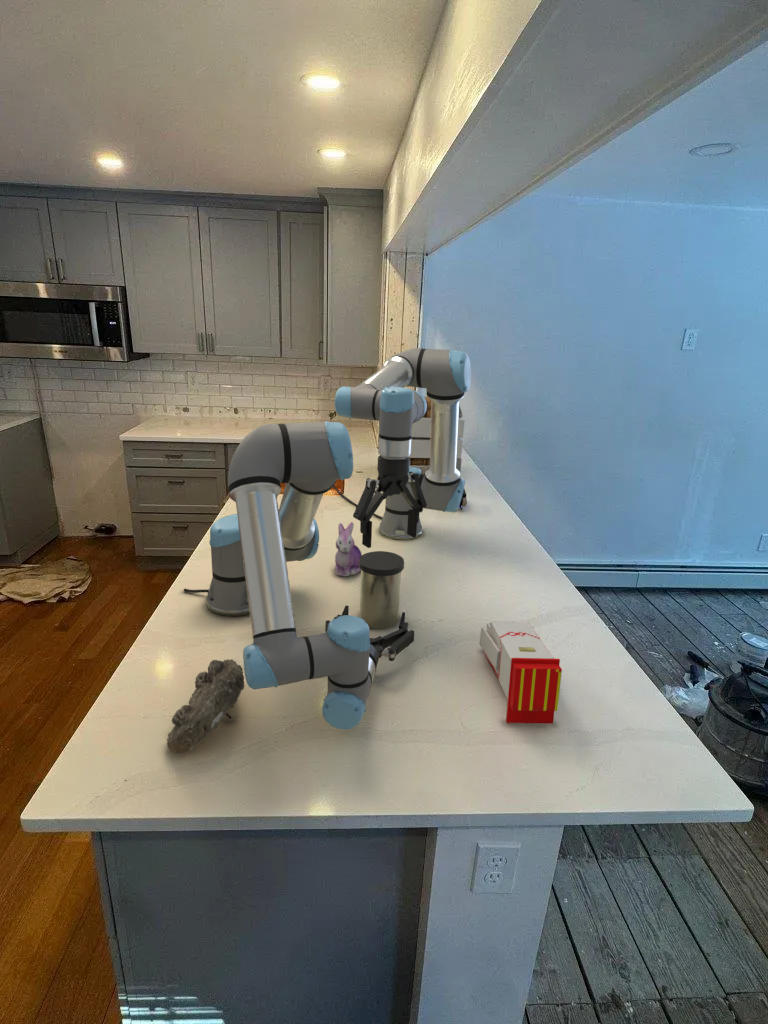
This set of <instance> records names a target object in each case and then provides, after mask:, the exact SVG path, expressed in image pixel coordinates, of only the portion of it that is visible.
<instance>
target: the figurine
mask: <svg viewBox="0 0 768 1024" xmlns="http://www.w3.org/2000/svg"><path fill="white" fill-rule="evenodd" d="M354 525H355V523H354V522H353V521H351V522H349V524H348V525H347V526H346V528H345V527H344V525H343V523H342V522H339V523H338V529H337V530H338V536H337V538H336V541H335V548H336V549H337V551H336V553H335V554H334V555H335V557H334V563H335V566H334V571H335V574H336V575H337V576H341V577H349V576H353V575H356V574H358V573H359V572H361V569H360V568H359V558H360V557H361V556H362V555H363V554H362V551H361V550H360V548H359V546H357V545H356V544H355V540H354V538H353V536H352V534H353V531H354Z"/></svg>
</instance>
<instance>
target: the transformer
mask: <svg viewBox="0 0 768 1024" xmlns="http://www.w3.org/2000/svg"><path fill="white" fill-rule="evenodd" d="M424 397H425V399H426V402H427V410H426V412H425V414H424V415H423V417H422V418H421V419H420V420H419V421H417V422H415V423H413V424H412V434H411V454H410V456H408V457H409V458H410V467H417V466H418V467H430V440H431V400H430V399H429V398H428V397H427V396H424ZM464 429H465V419H464V418H463V411H462V408H461V405H460V404H459V415H458V435H457V455H456V469H457V470H458V471H459V472H460V475H461V472H462V461H463V460H462V453H463V442H464V441H463V440H462V439H463V438H464V431H465V430H464Z"/></svg>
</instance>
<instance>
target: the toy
mask: <svg viewBox="0 0 768 1024" xmlns="http://www.w3.org/2000/svg"><path fill="white" fill-rule="evenodd" d="M478 642H479V643H478V644H479V646H480V647H481V650H482V651H483V654H484V655H485V657H486V659H487V661H488V663H489V664H490V666H491V669H492V670H493V672H494V674H495V676H496V678H497V679H498V682H499V684H500V687H501V688H502V691H503V693H504V695H505V697H506V699H507V706H506V717H505V722H506V724H547V725H549V724H551V725H553V724H554V718H555V712H558V711H559V710H558V709H559V698H560V689H561V682H562V681H561V680H562V672H563V671H562V667H561V666H560V663H561V659H560V658H554V656H553V654H552V653H551V651H550V650H549V649H548V647H547V646H546V644H545V643H544V642H543V640H542V638H540V636H539V635H538V633H537V631H536V630H535V627H534V626H532V625H531V623H530V622H529V620H528V621H527V620H526V621H525V620H524V621H523V620H490V621H489V622H487V623H486V628H485V626H480V634H479V641H478Z"/></svg>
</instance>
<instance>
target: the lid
mask: <svg viewBox="0 0 768 1024" xmlns="http://www.w3.org/2000/svg"><path fill="white" fill-rule="evenodd" d="M359 568H360V569H361V570H362V571H363V572H365V573H368V574H371V575H375V576H391V575H395V574H398V573H400V572H401V573H402V572H403V571H404V569H405V559H404V558H403V557H402V556H401V555H399V554H398V553H395V552H392V551H391V552H390V551H385V550H376V551H369V552H365V553H364V554H362V556H361V557H360V558H359ZM361 570H360V571H361Z"/></svg>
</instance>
